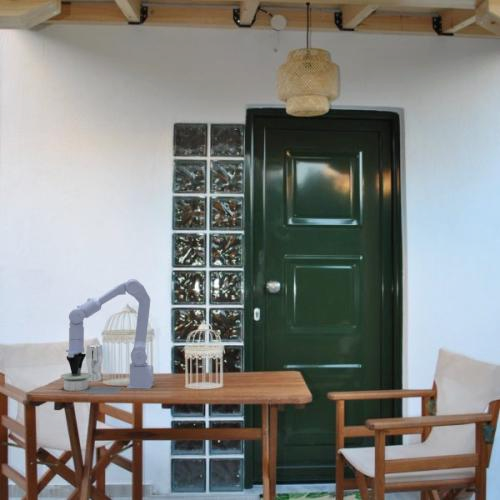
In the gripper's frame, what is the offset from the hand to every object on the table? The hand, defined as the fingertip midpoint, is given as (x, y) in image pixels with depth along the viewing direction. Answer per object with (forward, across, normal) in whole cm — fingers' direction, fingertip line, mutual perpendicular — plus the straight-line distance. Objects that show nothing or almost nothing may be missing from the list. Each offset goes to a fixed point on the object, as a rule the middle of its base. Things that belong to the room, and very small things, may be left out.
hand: (76, 372), depth 259 cm
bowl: (+7, 0, 0) cm, 7 cm away
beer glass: (+7, -19, +2) cm, 20 cm away
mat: (+6, +3, +12) cm, 14 cm away
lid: (+2, 0, 0) cm, 2 cm away
